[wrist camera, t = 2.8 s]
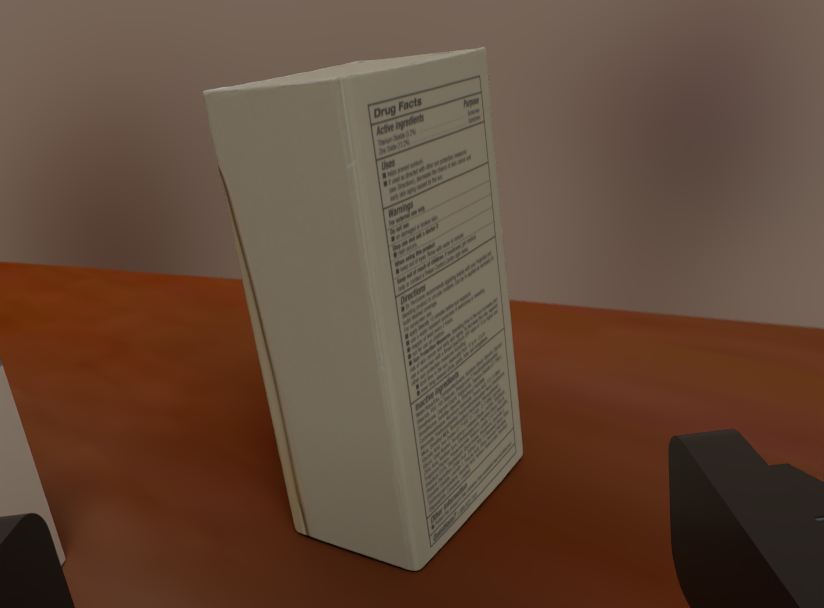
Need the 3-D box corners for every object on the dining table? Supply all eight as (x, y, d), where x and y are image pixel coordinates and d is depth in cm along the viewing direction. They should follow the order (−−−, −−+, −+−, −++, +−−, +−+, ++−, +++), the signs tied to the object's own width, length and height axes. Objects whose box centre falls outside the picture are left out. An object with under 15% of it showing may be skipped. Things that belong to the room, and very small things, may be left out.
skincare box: (412, 434, 26) (357, 61, 22) (532, 458, 24) (493, 43, 20) (287, 540, 21) (189, 86, 18) (421, 584, 19) (341, 68, 15)
